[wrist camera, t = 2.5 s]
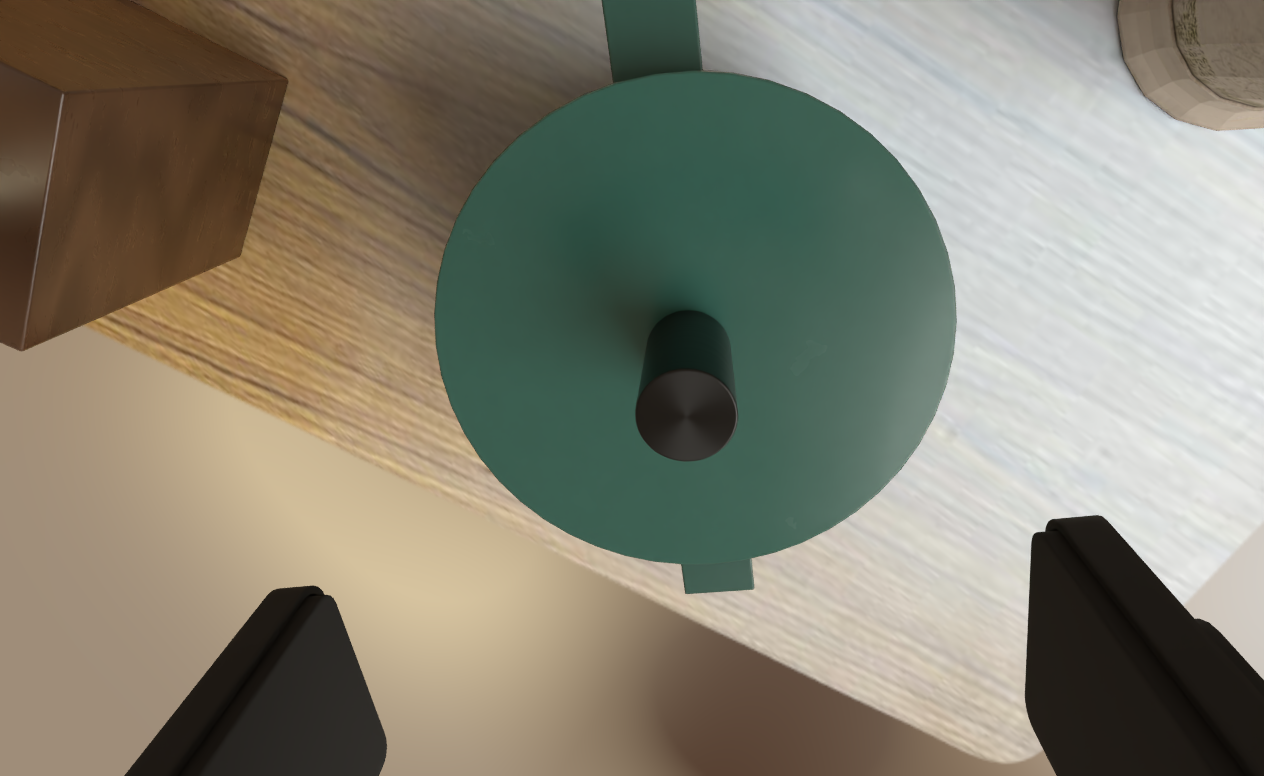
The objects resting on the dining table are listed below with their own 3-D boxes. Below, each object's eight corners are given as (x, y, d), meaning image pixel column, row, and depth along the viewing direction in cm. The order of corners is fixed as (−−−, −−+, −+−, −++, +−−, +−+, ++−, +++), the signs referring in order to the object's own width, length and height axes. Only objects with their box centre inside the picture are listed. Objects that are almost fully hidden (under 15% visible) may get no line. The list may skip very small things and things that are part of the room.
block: (240, 257, 34) (21, 353, 23) (61, 172, 33) (-256, 230, 22) (289, 79, 31) (63, 92, 20) (93, -18, 30) (-257, -62, 19)
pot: (570, 471, 37) (525, 618, 27) (485, 35, 30) (383, 25, 20) (864, 445, 35) (927, 591, 26) (849, -24, 28) (929, -66, 18)
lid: (500, 559, 27) (454, 679, 22) (390, 113, 21) (292, 131, 16) (941, 526, 25) (1006, 648, 20) (947, 27, 20) (1038, 18, 14)
